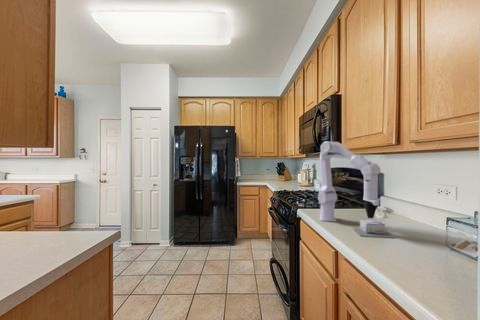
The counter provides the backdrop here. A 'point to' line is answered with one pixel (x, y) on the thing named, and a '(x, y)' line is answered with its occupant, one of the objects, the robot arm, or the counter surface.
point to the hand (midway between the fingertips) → (370, 217)
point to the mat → (372, 234)
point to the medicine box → (372, 226)
